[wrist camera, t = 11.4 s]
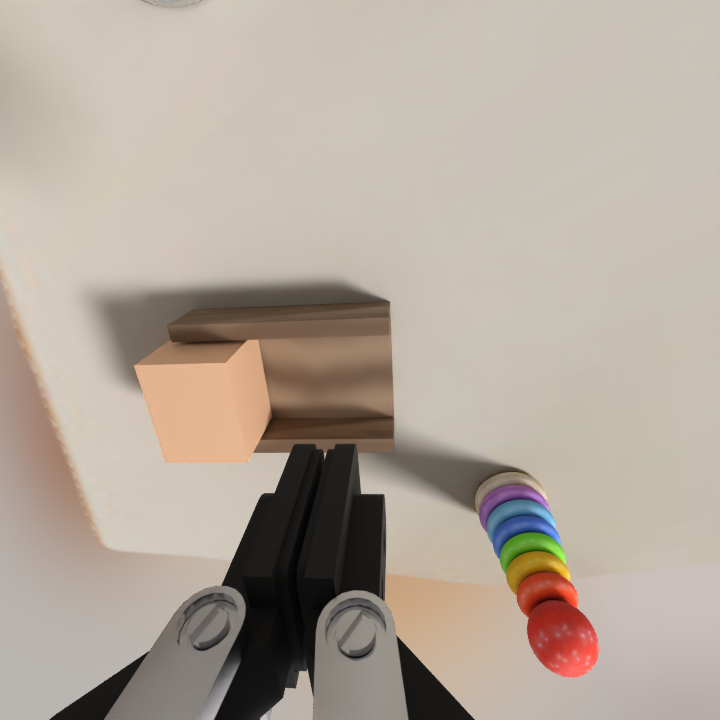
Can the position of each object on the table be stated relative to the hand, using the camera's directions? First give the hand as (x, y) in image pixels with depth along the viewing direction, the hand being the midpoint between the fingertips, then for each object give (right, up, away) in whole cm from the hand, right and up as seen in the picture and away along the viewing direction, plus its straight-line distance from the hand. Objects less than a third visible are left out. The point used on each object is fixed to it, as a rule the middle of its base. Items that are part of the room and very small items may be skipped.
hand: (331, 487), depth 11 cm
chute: (-6, +2, +31) cm, 32 cm away
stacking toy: (+18, -12, +36) cm, 42 cm away
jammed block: (-13, +2, +31) cm, 34 cm away
